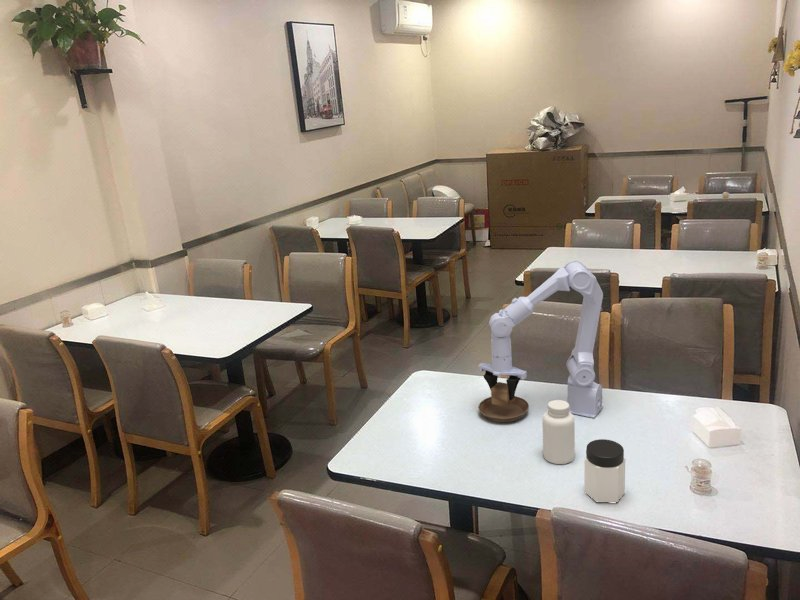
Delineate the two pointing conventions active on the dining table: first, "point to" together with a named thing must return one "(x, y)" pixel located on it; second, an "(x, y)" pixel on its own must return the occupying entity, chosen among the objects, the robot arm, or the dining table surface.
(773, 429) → the dining table surface
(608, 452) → the jar
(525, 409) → the saucer
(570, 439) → the pill bottle
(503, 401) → the cube
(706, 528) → the dining table surface
